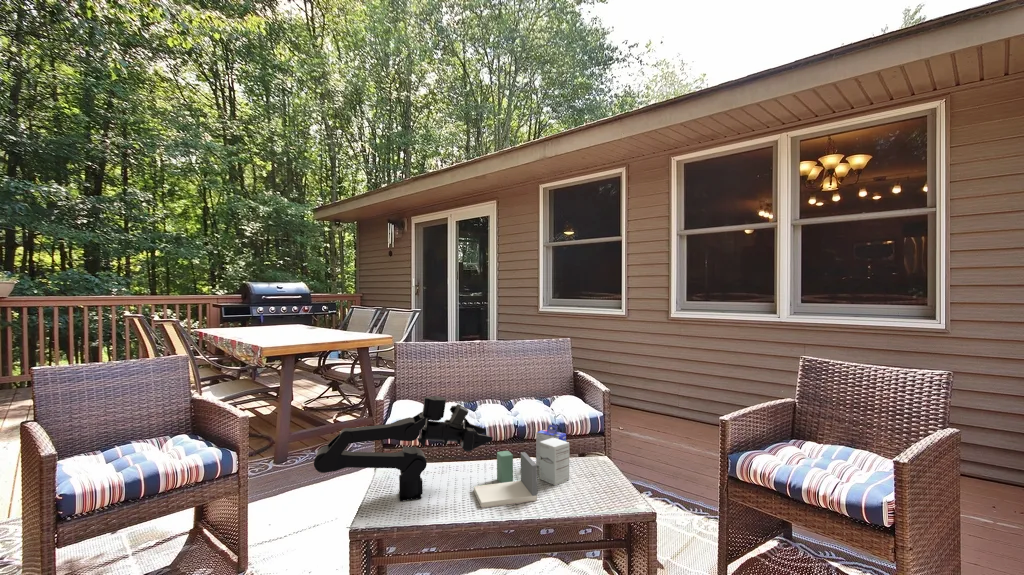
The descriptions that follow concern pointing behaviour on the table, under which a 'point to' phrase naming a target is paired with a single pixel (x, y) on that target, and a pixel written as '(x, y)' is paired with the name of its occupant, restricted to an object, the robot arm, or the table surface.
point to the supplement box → (554, 461)
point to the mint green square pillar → (504, 466)
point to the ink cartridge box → (546, 435)
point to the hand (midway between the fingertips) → (488, 434)
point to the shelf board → (511, 487)
